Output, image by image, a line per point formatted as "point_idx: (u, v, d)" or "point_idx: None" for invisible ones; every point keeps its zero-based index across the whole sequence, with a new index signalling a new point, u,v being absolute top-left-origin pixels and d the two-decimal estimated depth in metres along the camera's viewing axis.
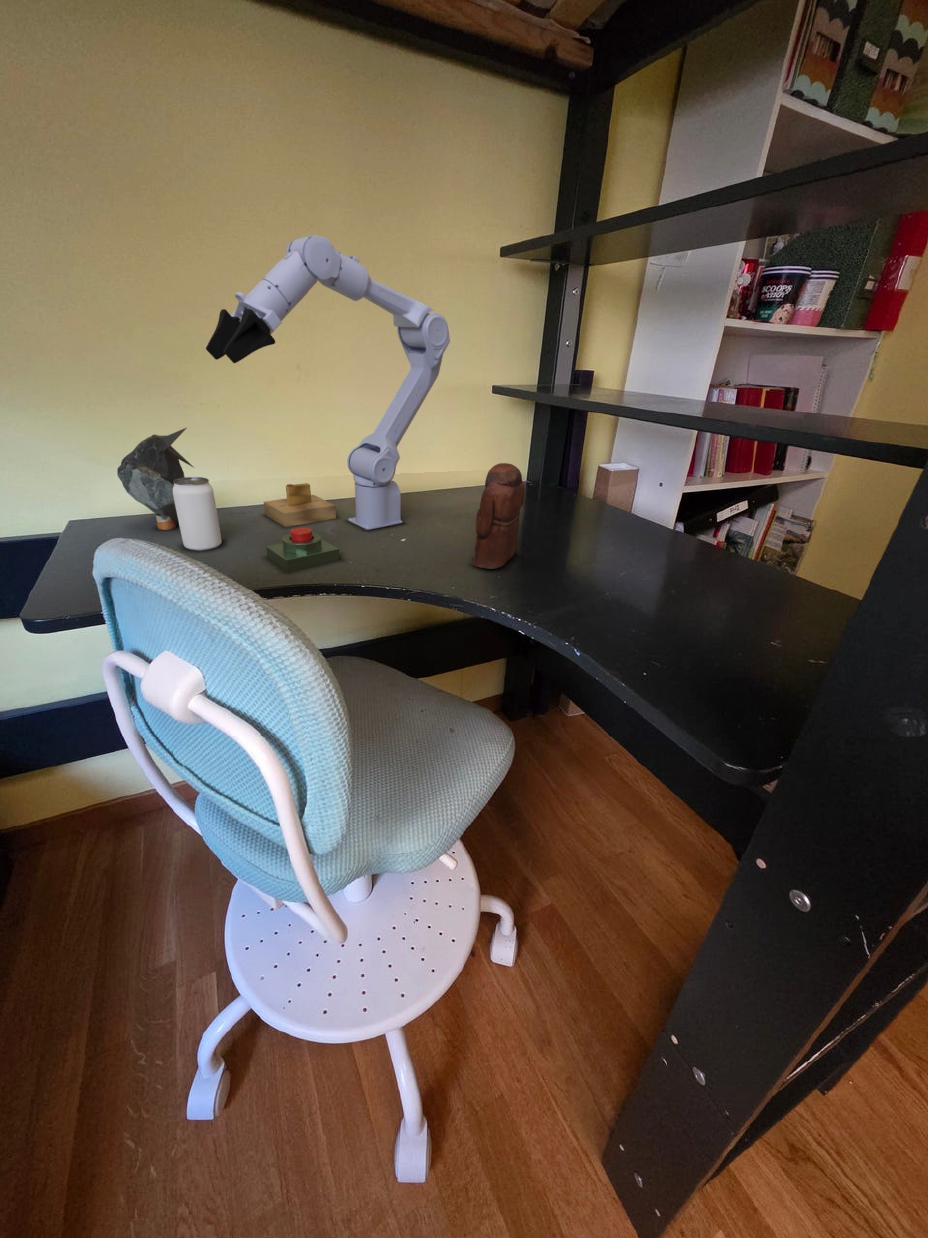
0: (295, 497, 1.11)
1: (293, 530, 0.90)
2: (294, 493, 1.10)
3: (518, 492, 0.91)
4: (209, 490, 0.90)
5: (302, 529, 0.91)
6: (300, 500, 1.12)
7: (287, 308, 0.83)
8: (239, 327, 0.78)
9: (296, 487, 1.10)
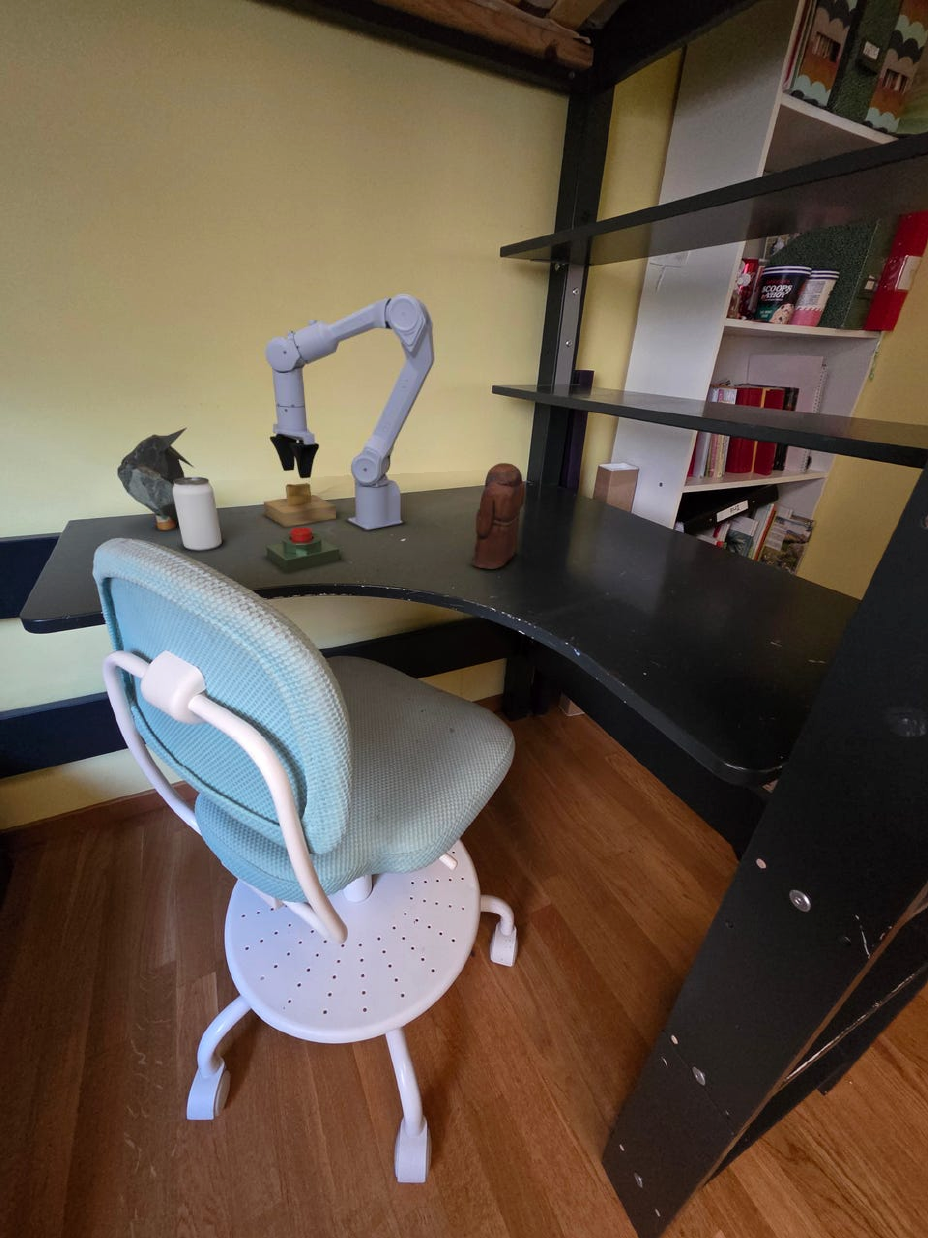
0: (295, 497, 1.11)
1: (293, 530, 0.90)
2: (294, 493, 1.10)
3: (518, 492, 0.91)
4: (209, 490, 0.90)
5: (302, 529, 0.91)
6: (300, 500, 1.12)
7: (304, 409, 1.03)
8: (296, 457, 1.04)
9: (296, 487, 1.10)
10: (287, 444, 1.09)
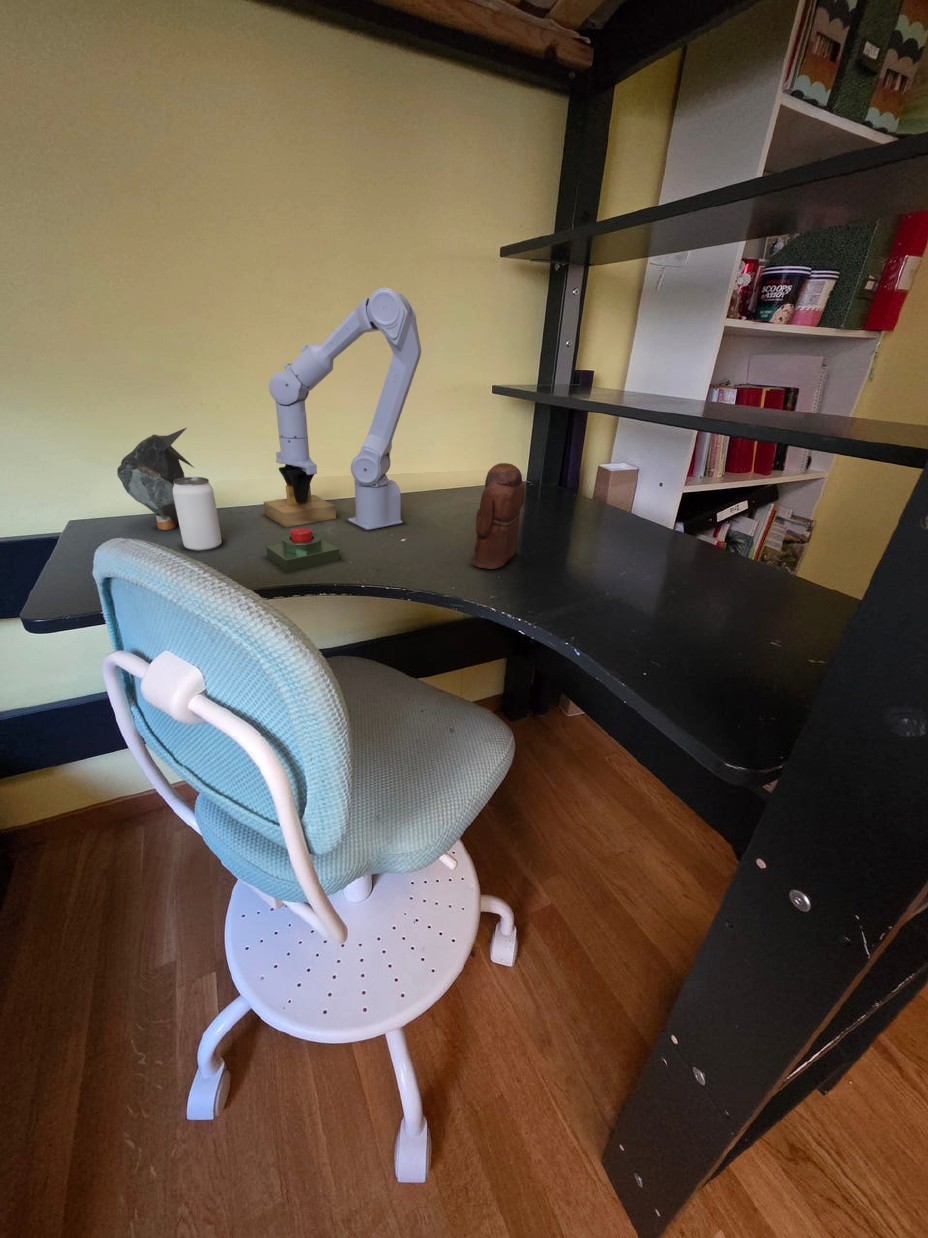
0: None
1: (293, 530, 0.90)
2: None
3: (518, 492, 0.91)
4: (209, 490, 0.90)
5: (302, 529, 0.91)
6: None
7: (306, 439, 1.06)
8: (292, 484, 1.08)
9: None
10: None
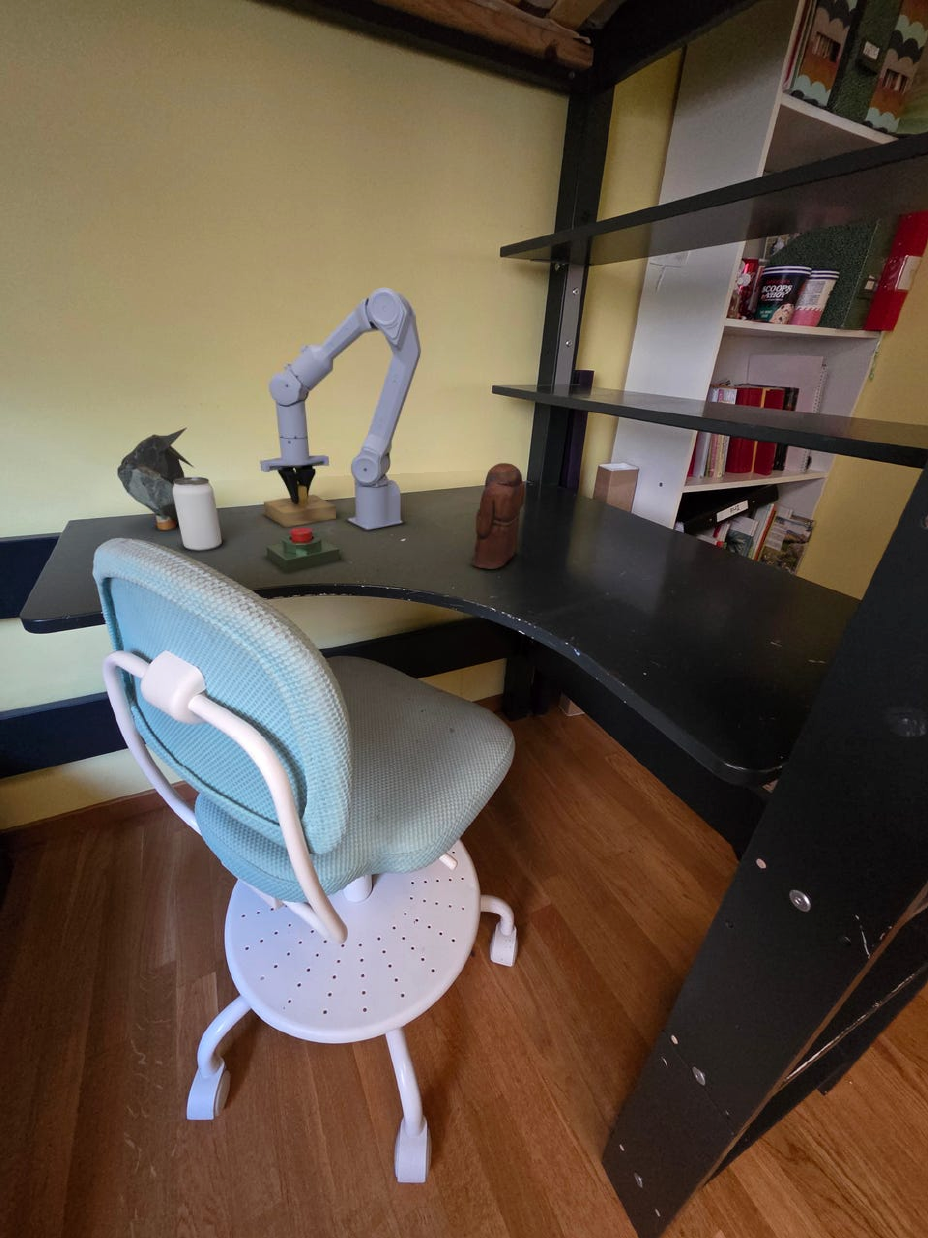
0: None
1: (293, 530, 0.90)
2: None
3: (518, 492, 0.91)
4: (209, 490, 0.90)
5: (302, 529, 0.91)
6: None
7: (287, 441, 1.04)
8: None
9: None
10: (301, 476, 1.10)
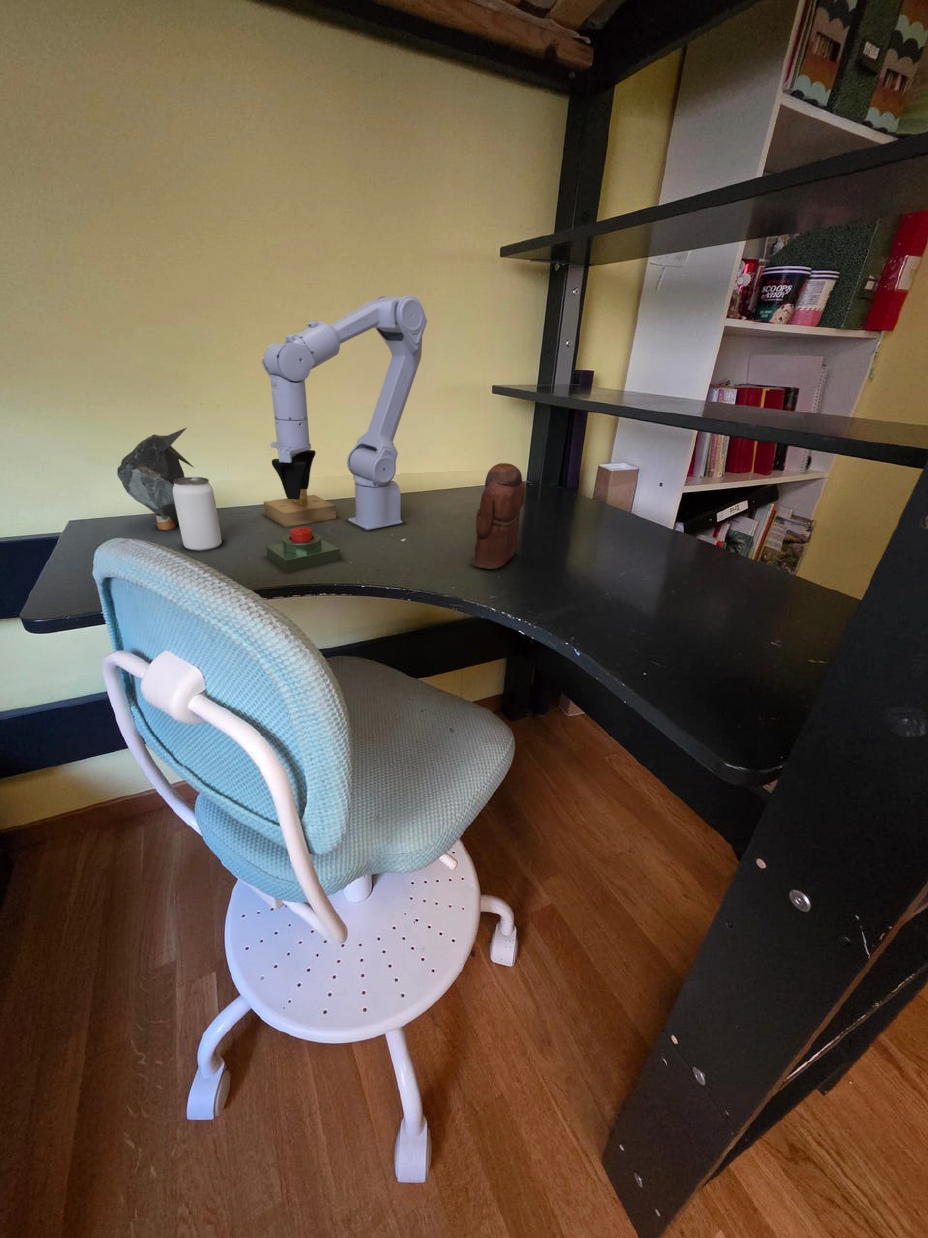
0: None
1: (293, 530, 0.90)
2: None
3: (518, 492, 0.91)
4: (209, 490, 0.90)
5: (302, 529, 0.91)
6: (296, 500, 1.12)
7: (298, 423, 0.90)
8: None
9: None
10: (300, 460, 0.99)
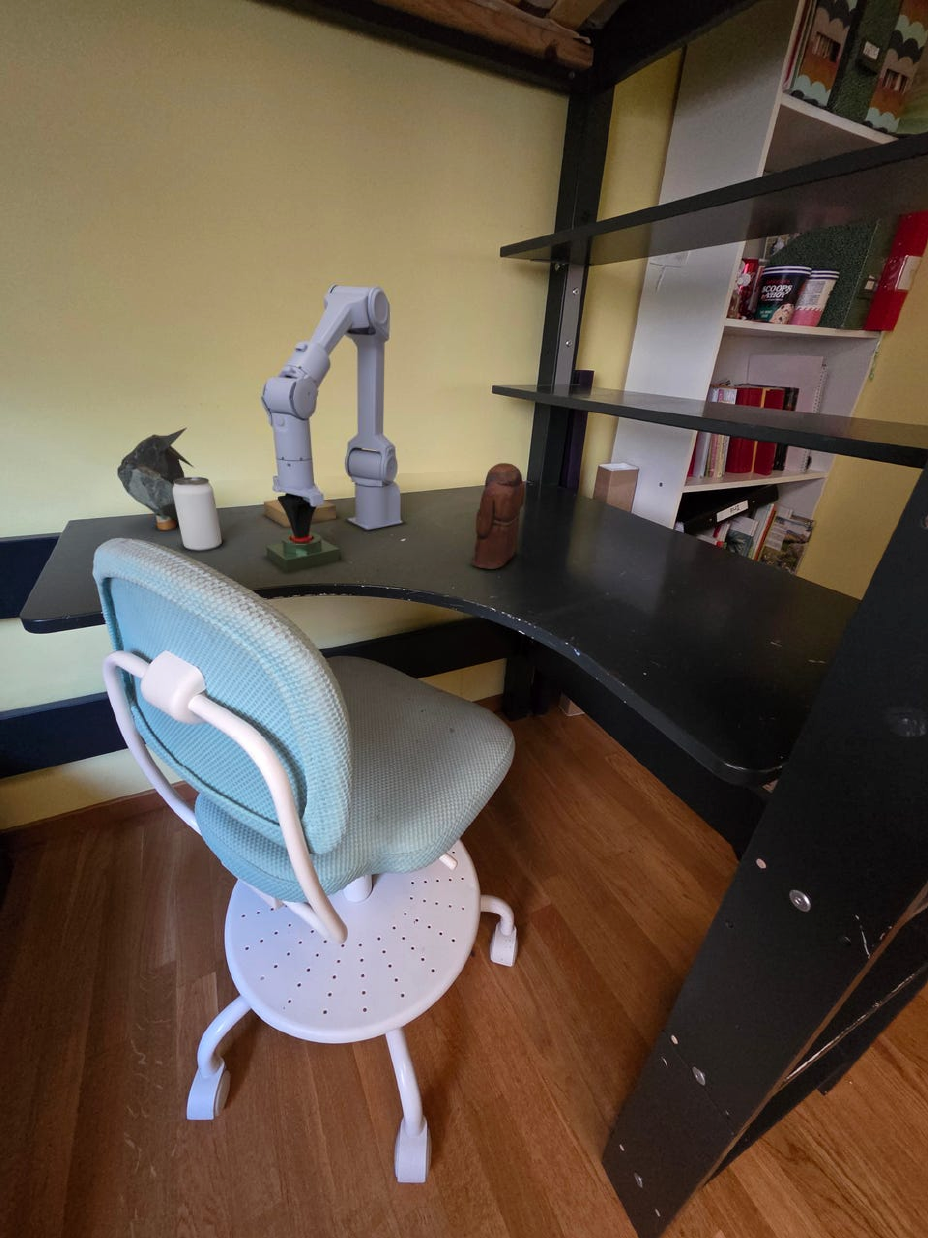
0: None
1: (294, 536, 0.90)
2: None
3: (518, 492, 0.91)
4: (209, 490, 0.90)
5: None
6: None
7: (310, 462, 0.84)
8: (291, 515, 0.87)
9: None
10: None
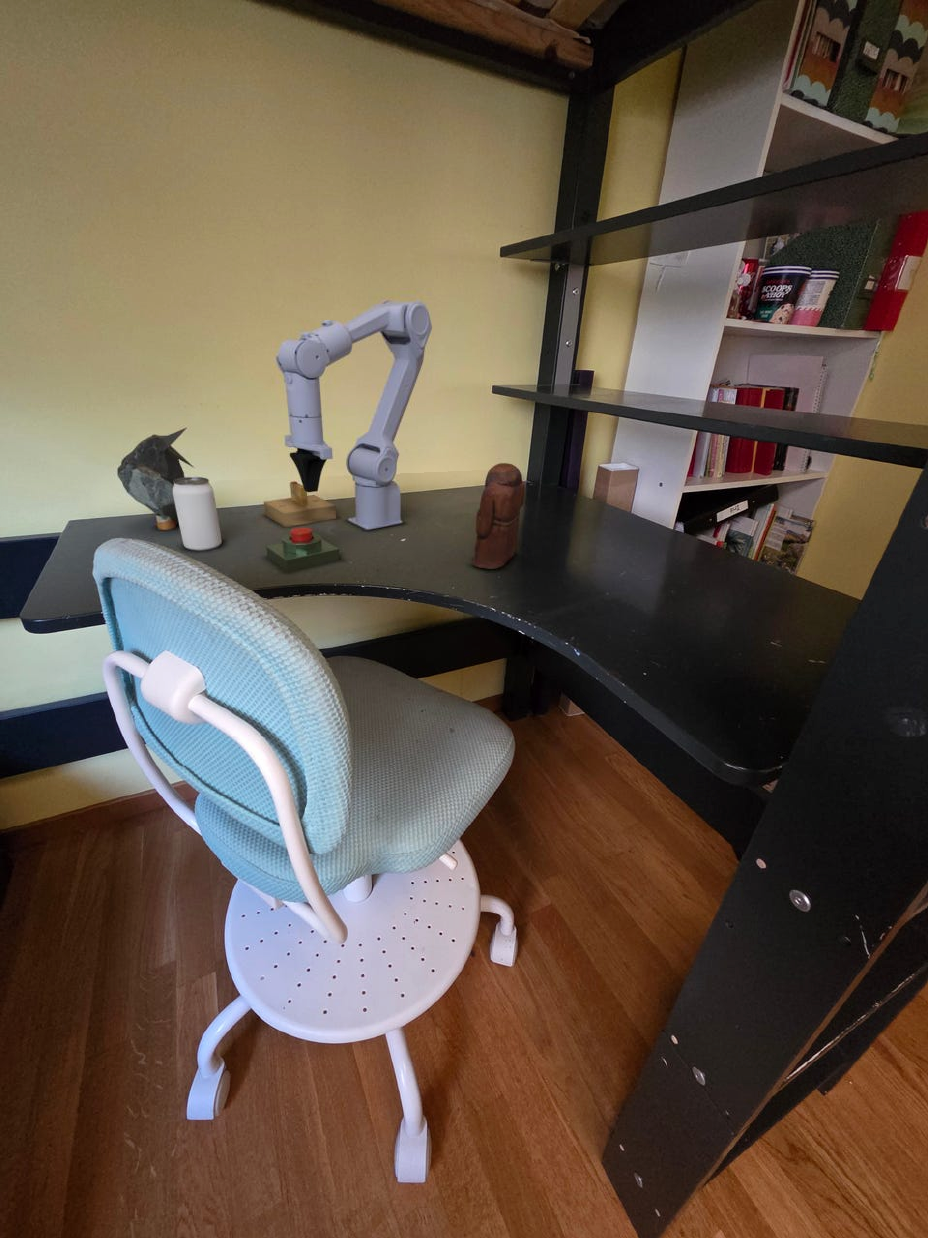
0: (293, 495, 1.12)
1: (293, 530, 0.90)
2: (292, 491, 1.12)
3: (518, 492, 0.91)
4: (209, 490, 0.90)
5: (302, 529, 0.91)
6: (296, 500, 1.12)
7: (320, 419, 0.92)
8: (302, 470, 0.94)
9: (293, 486, 1.11)
10: None
